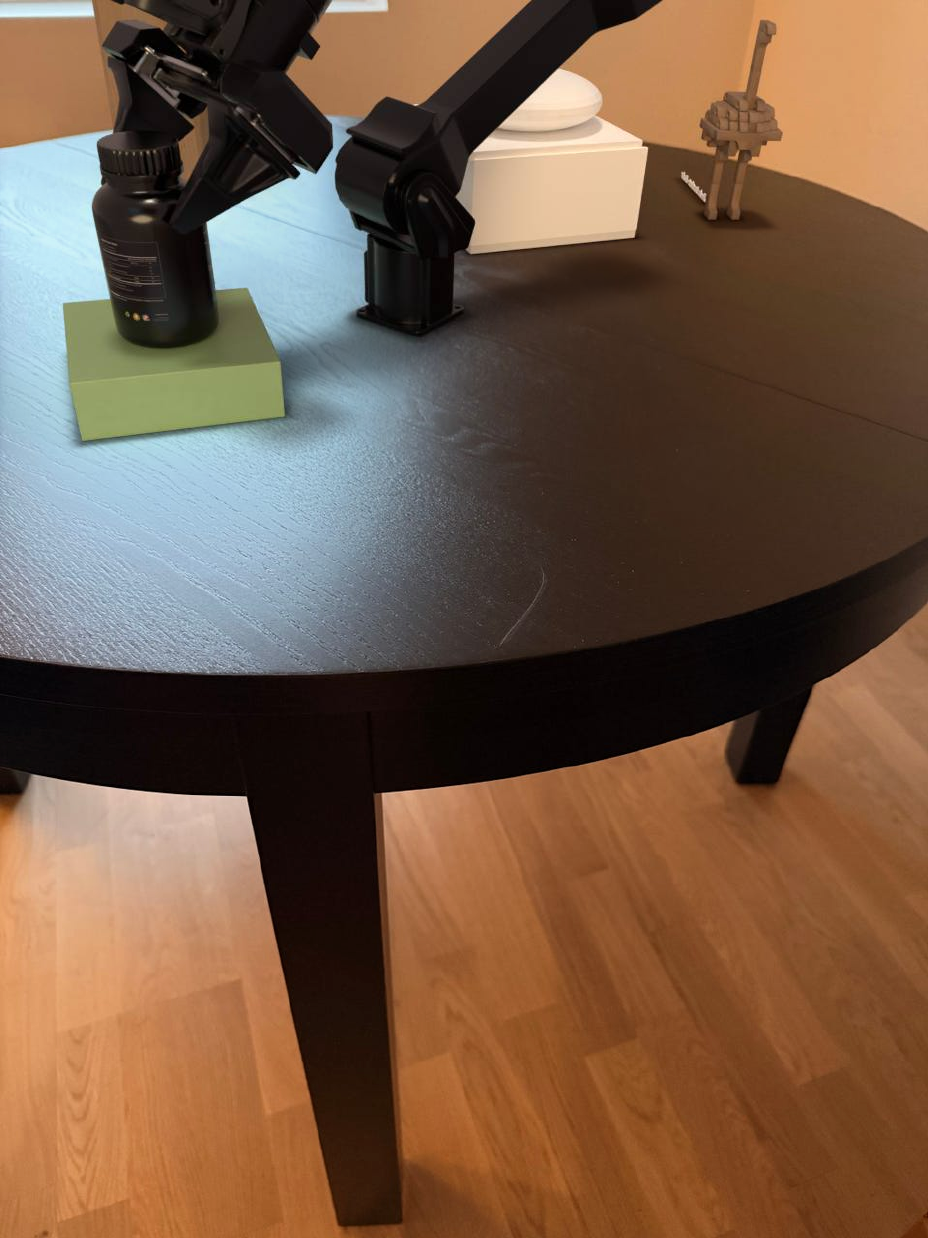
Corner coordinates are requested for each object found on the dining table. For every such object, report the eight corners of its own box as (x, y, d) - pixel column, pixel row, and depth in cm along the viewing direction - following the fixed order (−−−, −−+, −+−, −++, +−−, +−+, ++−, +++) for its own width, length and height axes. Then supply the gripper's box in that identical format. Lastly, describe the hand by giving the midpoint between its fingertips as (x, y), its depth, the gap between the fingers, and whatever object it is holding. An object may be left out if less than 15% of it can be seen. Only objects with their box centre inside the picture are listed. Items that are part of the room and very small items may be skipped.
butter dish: (635, 237, 98) (661, 53, 88) (465, 254, 92) (472, 60, 82) (557, 184, 110) (572, 18, 100) (403, 197, 105) (403, 22, 95)
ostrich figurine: (763, 228, 102) (809, 25, 90) (700, 228, 101) (738, 23, 89) (710, 178, 114) (745, -5, 103) (654, 178, 114) (682, -6, 102)
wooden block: (117, 179, 105) (79, -47, 93) (166, 155, 113) (137, -57, 100) (203, 191, 103) (176, -38, 91) (247, 166, 111) (227, -49, 98)
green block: (252, 338, 76) (247, 286, 74) (285, 416, 67) (280, 361, 64) (74, 355, 73) (62, 302, 70) (82, 441, 63) (69, 383, 61)
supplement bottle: (149, 304, 71) (119, 119, 63) (237, 318, 69) (217, 132, 62) (95, 342, 66) (55, 146, 58) (189, 358, 64) (160, 160, 57)
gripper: (104, -139, 59) (-34, 88, 61) (272, -112, 49) (101, 162, 50) (234, 6, 69) (112, 200, 70) (400, 54, 58) (252, 282, 59)
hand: (140, 209), depth 62 cm, fingers open, 9 cm apart
